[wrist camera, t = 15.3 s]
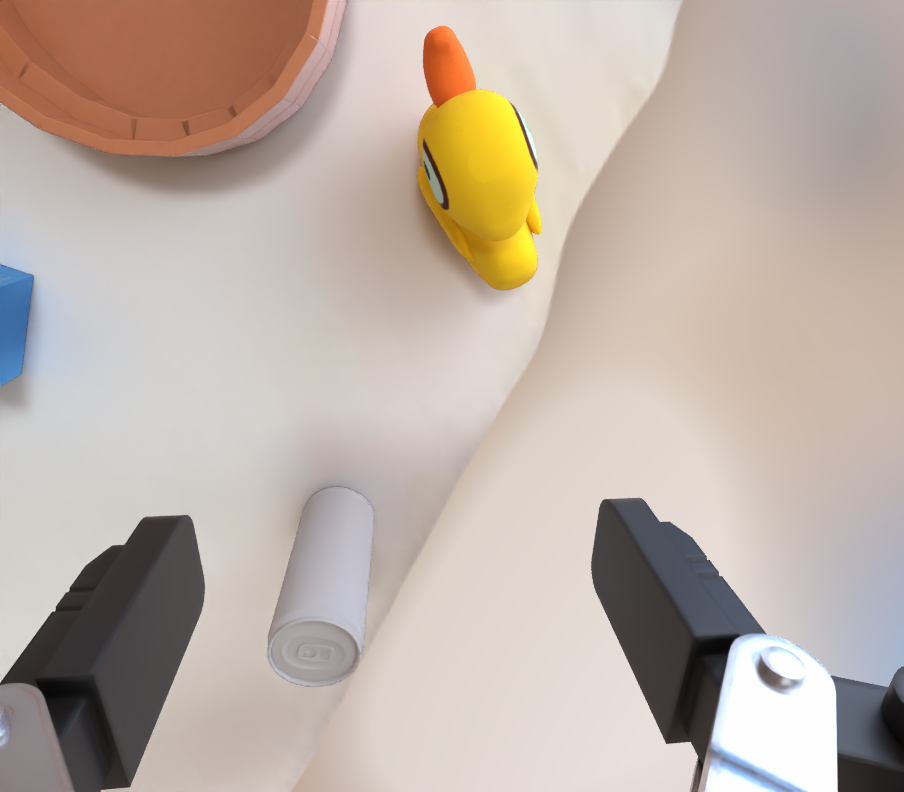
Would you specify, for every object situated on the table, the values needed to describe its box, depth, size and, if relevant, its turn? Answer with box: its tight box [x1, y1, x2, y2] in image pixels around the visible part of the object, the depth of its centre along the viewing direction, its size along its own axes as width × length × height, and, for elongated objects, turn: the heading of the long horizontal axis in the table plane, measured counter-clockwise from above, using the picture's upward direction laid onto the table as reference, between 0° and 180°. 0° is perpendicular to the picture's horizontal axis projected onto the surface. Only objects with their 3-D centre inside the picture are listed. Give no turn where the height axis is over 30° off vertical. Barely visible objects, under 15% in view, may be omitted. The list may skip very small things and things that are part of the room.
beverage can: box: [268, 487, 374, 687], centre depth 33 cm, size 5×5×12 cm
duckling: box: [417, 26, 542, 290], centre depth 26 cm, size 11×5×10 cm, turn 22°
